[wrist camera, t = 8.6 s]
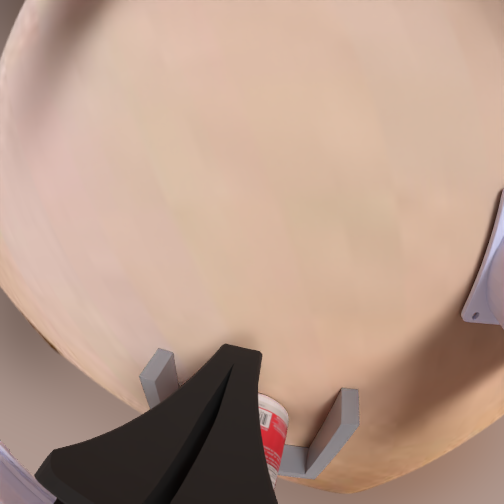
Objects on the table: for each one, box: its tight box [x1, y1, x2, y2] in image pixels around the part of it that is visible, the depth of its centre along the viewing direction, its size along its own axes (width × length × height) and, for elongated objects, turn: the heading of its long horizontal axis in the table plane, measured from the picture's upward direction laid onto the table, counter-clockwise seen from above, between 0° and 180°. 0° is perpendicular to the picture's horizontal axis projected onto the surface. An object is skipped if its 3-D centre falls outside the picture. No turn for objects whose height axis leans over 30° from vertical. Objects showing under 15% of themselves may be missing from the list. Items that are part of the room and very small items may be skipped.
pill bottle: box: [258, 393, 289, 489], centre depth 15 cm, size 6×6×11 cm
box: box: [139, 348, 359, 479], centre depth 19 cm, size 14×11×3 cm
